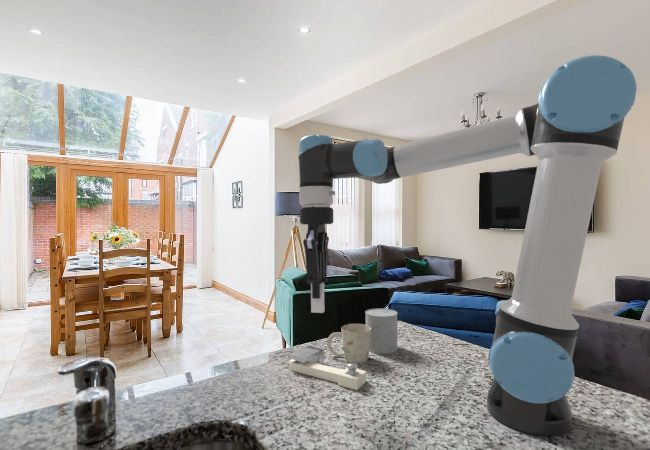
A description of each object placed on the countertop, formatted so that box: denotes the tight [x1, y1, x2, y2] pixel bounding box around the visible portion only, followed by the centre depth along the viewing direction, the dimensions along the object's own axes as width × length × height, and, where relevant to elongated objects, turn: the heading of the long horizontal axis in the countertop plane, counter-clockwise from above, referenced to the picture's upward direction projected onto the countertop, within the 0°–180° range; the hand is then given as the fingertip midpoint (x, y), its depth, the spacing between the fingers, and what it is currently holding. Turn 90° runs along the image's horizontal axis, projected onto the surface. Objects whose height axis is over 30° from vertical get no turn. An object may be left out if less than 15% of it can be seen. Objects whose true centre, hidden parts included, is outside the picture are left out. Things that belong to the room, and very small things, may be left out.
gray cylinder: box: [364, 307, 399, 355], centre depth 109 cm, size 10×10×12 cm
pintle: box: [346, 362, 359, 376], centre depth 86 cm, size 3×3×5 cm
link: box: [289, 359, 367, 391], centre depth 90 cm, size 20×5×2 cm, turn 58°
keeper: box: [288, 344, 325, 365], centre depth 96 cm, size 5×8×5 cm, turn 144°
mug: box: [326, 323, 371, 364], centre depth 102 cm, size 8×13×10 cm, turn 78°
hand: (317, 311), depth 82 cm, fingers closed
